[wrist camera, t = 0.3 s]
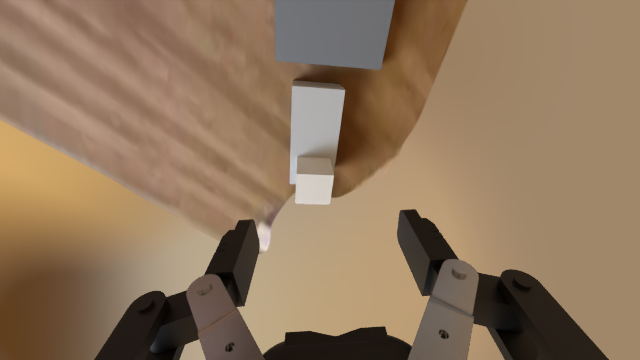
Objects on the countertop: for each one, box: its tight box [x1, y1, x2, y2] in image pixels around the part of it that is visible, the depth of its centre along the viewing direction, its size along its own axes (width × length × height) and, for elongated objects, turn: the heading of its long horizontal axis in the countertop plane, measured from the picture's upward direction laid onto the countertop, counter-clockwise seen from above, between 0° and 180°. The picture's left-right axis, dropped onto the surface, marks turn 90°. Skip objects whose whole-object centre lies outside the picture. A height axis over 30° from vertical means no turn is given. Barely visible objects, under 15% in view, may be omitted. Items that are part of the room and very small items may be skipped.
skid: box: [290, 80, 345, 184], centre depth 30 cm, size 12×6×4 cm, turn 175°
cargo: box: [295, 156, 334, 205], centre depth 28 cm, size 4×4×4 cm
